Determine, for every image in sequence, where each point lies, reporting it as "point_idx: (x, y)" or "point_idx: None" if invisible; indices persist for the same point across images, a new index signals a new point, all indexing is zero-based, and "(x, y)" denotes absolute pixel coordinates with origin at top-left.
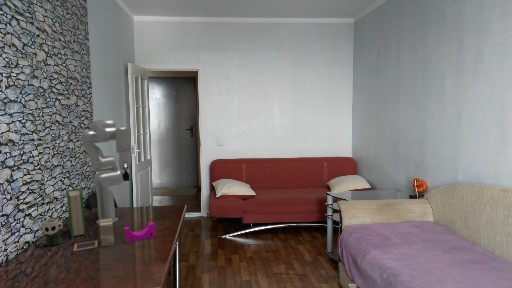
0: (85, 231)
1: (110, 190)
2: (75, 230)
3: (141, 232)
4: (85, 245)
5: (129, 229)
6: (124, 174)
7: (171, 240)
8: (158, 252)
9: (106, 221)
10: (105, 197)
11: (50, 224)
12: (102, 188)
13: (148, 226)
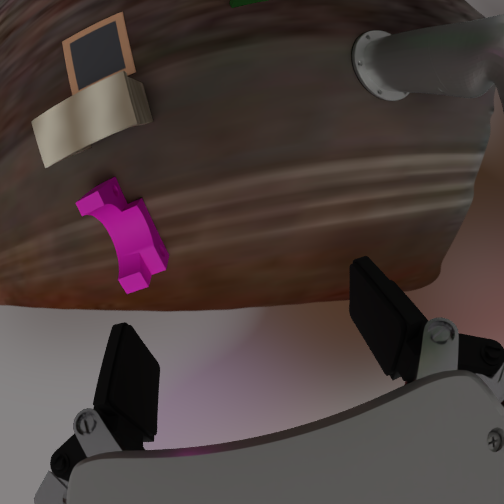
0: (232, 1)
1: (474, 87)
2: None
3: (133, 233)
4: (91, 55)
5: (83, 215)
6: (108, 408)
7: (108, 309)
8: (39, 289)
9: (78, 122)
10: (435, 56)
11: None
12: (471, 44)
13: (128, 269)
